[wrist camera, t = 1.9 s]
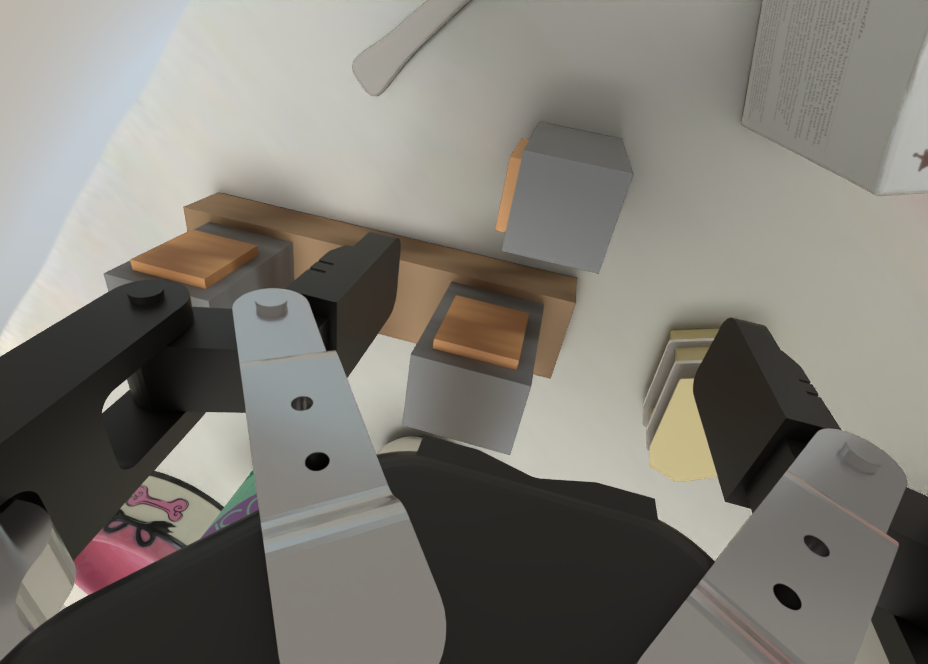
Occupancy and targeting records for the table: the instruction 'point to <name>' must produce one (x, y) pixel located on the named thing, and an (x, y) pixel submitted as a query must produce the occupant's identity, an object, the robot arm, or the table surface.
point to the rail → (414, 314)
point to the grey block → (564, 196)
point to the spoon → (401, 44)
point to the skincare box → (845, 88)
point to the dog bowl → (145, 531)
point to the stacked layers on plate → (678, 410)
